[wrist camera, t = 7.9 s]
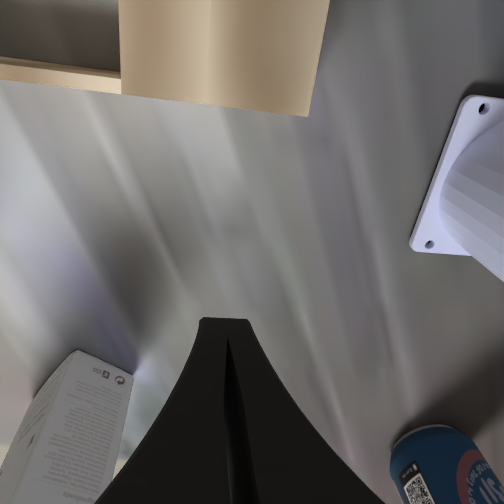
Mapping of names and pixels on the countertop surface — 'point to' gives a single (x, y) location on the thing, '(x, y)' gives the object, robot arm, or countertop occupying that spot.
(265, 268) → the countertop surface
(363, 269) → the countertop surface
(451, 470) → the soda can
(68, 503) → the skincare box
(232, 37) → the trap board
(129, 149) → the countertop surface
